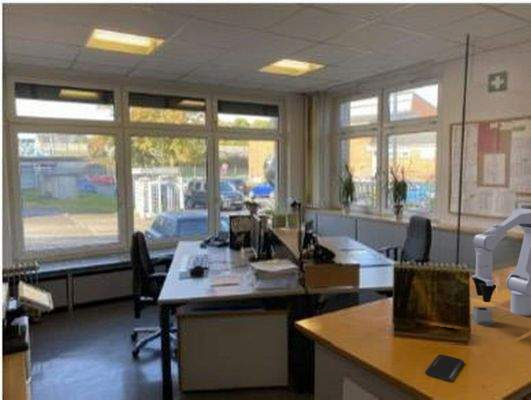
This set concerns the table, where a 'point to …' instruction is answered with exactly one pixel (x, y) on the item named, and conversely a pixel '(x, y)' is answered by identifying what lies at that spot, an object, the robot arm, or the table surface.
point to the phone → (444, 367)
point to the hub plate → (483, 324)
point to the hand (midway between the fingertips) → (483, 298)
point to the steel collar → (482, 315)
